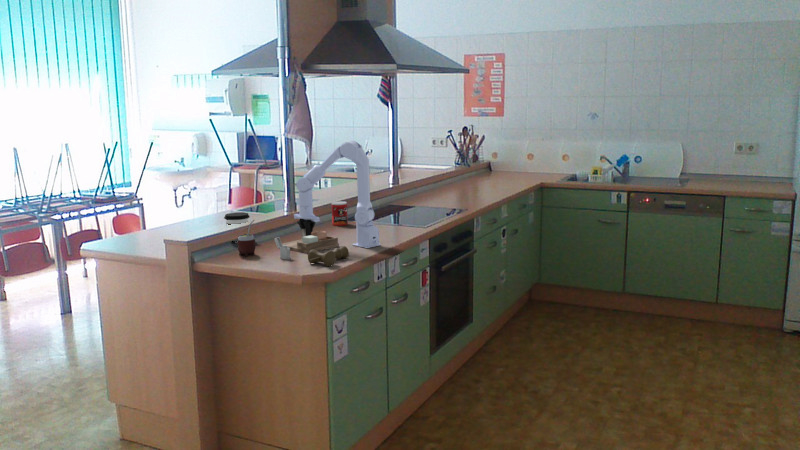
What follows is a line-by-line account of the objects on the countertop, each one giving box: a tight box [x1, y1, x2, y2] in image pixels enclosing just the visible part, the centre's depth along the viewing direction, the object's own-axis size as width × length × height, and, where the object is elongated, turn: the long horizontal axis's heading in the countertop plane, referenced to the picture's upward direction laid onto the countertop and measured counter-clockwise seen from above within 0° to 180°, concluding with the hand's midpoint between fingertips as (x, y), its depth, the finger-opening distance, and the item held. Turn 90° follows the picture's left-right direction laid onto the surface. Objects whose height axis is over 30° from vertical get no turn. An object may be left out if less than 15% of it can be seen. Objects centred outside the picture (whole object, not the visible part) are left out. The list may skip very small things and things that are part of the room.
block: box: [301, 235, 318, 244], centre depth 284 cm, size 4×4×4 cm
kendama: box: [307, 245, 350, 267], centre depth 263 cm, size 6×10×20 cm
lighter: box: [273, 236, 291, 260], centre depth 271 cm, size 7×2×8 cm, turn 52°
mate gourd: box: [236, 219, 256, 258], centre depth 276 cm, size 8×8×15 cm
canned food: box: [331, 200, 349, 227], centre depth 340 cm, size 8×8×11 cm
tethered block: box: [300, 228, 328, 241], centre depth 294 cm, size 11×5×5 cm, turn 46°
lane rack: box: [281, 235, 340, 254], centre depth 291 cm, size 19×17×4 cm
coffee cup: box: [223, 211, 250, 225], centre depth 304 cm, size 11×11×12 cm
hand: (307, 236), depth 297 cm, fingers closed on tethered block, 2 cm apart
